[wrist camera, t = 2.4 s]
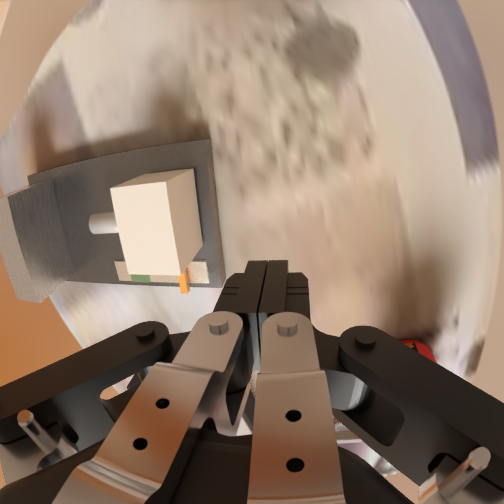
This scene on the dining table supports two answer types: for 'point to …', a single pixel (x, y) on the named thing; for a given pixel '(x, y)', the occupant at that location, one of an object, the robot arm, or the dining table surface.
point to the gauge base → (91, 202)
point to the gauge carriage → (155, 223)
